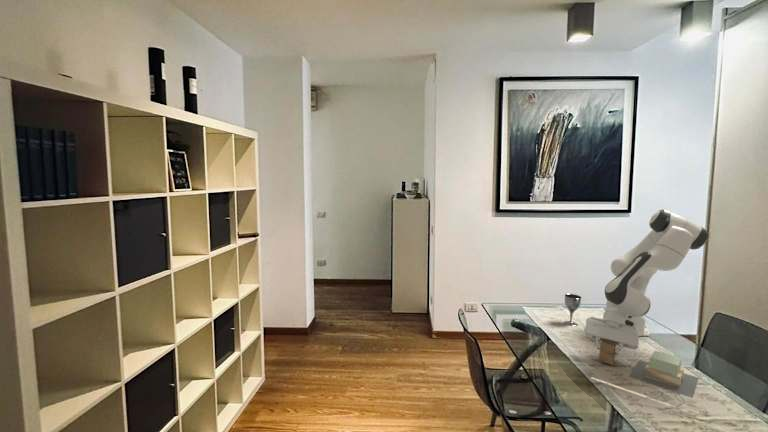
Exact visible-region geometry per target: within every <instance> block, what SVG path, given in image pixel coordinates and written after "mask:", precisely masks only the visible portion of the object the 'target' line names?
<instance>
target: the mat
mask: <svg viewBox="0 0 768 432" xmlns="http://www.w3.org/2000/svg"><path fill="white" fill-rule="evenodd" d="M648 362H649V361H648ZM648 362H647V361H644V360H641V359H639V360H638V361H637V362H636V365H635V366H634V368H633V369H632V370H631V372H630V373H629V375H628V378H631V379H635V380H637V381H641V382H643V383H646V384H650V385H653V386H656V387H659V388H662V389H665V390H668V391H671V392H673V393H678V394H679V395H683V396H686V397H690V398H694V395H695V391H696V388H697V386H698V382H699V378H700V377H698V376H695V375H691V374H688V373H684V374H683V379H682V382H681V384H680V387H679V388H678V387H675V386H671V385H668V384H665V383H662V382H659V381H656V380H653V379H650V378H647V377H644V376H645V367H646V365H647V364H648Z"/></svg>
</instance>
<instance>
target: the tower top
mask: <svg viewBox="0 0 768 432" xmlns="http://www.w3.org/2000/svg"><path fill="white" fill-rule="evenodd" d="M682 359H683V358H682V357H680V356H676V355H673V354H668V353H665V352H662V351H659V350H653V352H652V354H651V355H650V357H649V361H650V363H649V367H650V368H653V369H657V370H660V371H663V372H666V373H670V374H673V375H676V376H678V373H679V371H680V368H681V367H682Z"/></svg>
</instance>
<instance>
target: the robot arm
mask: <svg viewBox="0 0 768 432" xmlns="http://www.w3.org/2000/svg"><path fill="white" fill-rule="evenodd" d="M648 225H649V227H650V229H651V230H650V231H649V233H648V234H647V235H646V236H645V237H643V239H642V240H641V241H640V242H639V243H638V244H637V245H636V246H634V247H633V248H631V249H630V250H628V251H627V252H626V253H624V254H622V255H621V256H620V257H618V258H615V259H614V260H613V261H612V262H611V264H610V270H611V273H612V274H613V275H614V276H615V277H614V278H613V279H612V280H611V281H609V282H608V283H607V284H606V285H605V287H604V295H605V296H604V297H605V299H606V302H605V310H604V313H603V316H602V318H599V317H594V316H591V317H587V318H586V320H585V327H584V330H583V334H584V335H585V337H586V338H590V339H594V340H595V341H596V342H595V343H596V350H599V351H600V345H601V341H602V340H603V339H605V340H609V341H612V342H616V346H618V347H617V348H616V349H615V351H614V354H615V355H619V353H620V351H622V350H623V349H624V348H628V349H632V350H637V349H638V348H639V343H640V342H639V341H640V340H639V337H650V329H649V325H647V324H646V320H647V319H646V317H645V316H646V315H647V314H648V312H649V311H650V309H651V300H650V298H648V297H647V296H646V295H645V294H646V291H647V287H648V285H649V283H650V281H651V279H652V277H653V276H654V275H655V274H656V273H657V271H661V272H668V271H673V270H675V269H677V268H678V267H679V266H680V265H681V263H683V261H684V259H685V257H687V254H688V253H689V251H690V250H699V249H701V248H702V247H703V246H705V244H706V243H707V241H708V239H709V238H710V236H709V235H710V234H709V231H708V230H706V229H705V228H704V227H702V226H700V225H699V224H697V223H695V222H693V221H692V220H690V219H689V218H685V217H683V216H681V215H678V214H676V213H674V212H672V211H671V210H667V209H664V208H663V209H659V210H658V211H656V212H655V213H654V214H653V215H652V216H651V218H650V220H649V224H648Z"/></svg>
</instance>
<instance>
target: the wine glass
mask: <svg viewBox="0 0 768 432" xmlns="http://www.w3.org/2000/svg"><path fill="white" fill-rule="evenodd" d="M581 302H582V296H580V295H578V294H574V293H565V294H564V305H565V308H566V309H567V310H568V312H569V315H570V316H569V317H570V318H569V320H564V321H563V324H564V325H567V326H571V327H577V326H578V325H579V323H577V322H575V321H572V320H573V314H574V313H575V312H576V311H577V310H579V308H580V306H581Z"/></svg>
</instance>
